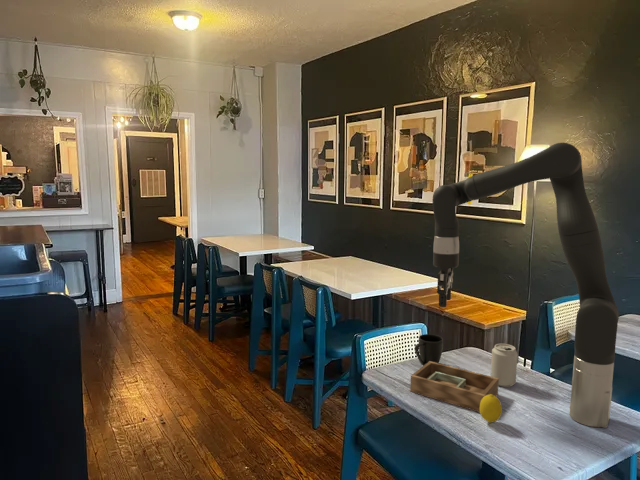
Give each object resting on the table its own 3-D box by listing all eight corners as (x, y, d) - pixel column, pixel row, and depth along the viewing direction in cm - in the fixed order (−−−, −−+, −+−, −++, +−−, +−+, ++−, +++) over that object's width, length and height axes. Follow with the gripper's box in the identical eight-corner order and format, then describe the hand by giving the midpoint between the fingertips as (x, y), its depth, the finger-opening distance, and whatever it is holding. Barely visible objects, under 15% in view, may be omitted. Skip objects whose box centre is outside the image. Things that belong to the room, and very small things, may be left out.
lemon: (502, 420, 128) (504, 392, 127) (498, 430, 123) (500, 401, 122) (481, 415, 131) (482, 387, 129) (476, 424, 126) (478, 396, 125)
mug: (405, 366, 163) (406, 339, 162) (428, 357, 171) (429, 332, 169) (424, 374, 157) (425, 346, 156) (447, 365, 164) (448, 338, 163)
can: (511, 390, 146) (514, 352, 144) (487, 383, 150) (489, 347, 148) (518, 381, 152) (520, 345, 150) (494, 375, 156) (496, 340, 154)
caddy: (497, 394, 143) (498, 378, 142) (483, 413, 132) (484, 396, 131) (429, 375, 156) (429, 361, 155) (410, 391, 145) (410, 375, 144)
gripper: (455, 255, 136) (454, 310, 138) (461, 248, 149) (460, 298, 151) (429, 254, 139) (428, 307, 141) (437, 247, 152) (436, 296, 154)
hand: (444, 303), depth 146 cm, fingers open, 8 cm apart
